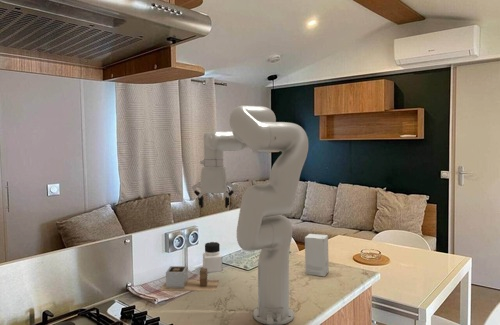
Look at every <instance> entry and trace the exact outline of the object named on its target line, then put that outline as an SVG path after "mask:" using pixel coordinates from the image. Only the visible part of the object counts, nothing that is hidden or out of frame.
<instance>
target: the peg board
mask: <svg viewBox="0 0 500 325" xmlns="http://www.w3.org/2000/svg"><path fill="white" fill-rule="evenodd" d="M173 272H181V268H174V269H173ZM219 281H220V280H215V279H212V280H211V279H208V272H207V268H203V267H202V268H200V269H199V279H198V280H197V279H195V280H194V279H188V283H187V284H186V286H185V288H184V289H166V281H165V282H164V284H163V285H162V287H161V288H160V290H159V292H160V291H161V292H162V291H167V292H168V291H171V292H174V291H175V292H177V291H179V292H181V291H182V292H184V291H185V292H215V291H217V287H218V285H219Z"/></svg>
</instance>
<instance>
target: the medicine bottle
mask: <svg viewBox="0 0 500 325" xmlns="http://www.w3.org/2000/svg"><path fill="white" fill-rule="evenodd" d="M220 246H221V245H220V243H219V242H217V241H208V242H206V243H204V252H203V253H202V268H207V273H213V272H215V273H216V272H222V271H223V255H222V254H221V252H220Z"/></svg>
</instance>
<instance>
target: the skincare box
mask: <svg viewBox="0 0 500 325" xmlns="http://www.w3.org/2000/svg"><path fill="white" fill-rule="evenodd" d="M304 254H305V257H304V260H305V262H304V263H305V264H304V265H305V275H310V276H317V277H318V276H319V277H326V276H327V274H328V273H329V272H330V271H329V269H330V267H329V236H328V235H327V234H319V233H318V234H317V233H308V234H307V235H306V236H305V237H304Z"/></svg>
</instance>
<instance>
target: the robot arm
mask: <svg viewBox="0 0 500 325" xmlns="http://www.w3.org/2000/svg"><path fill="white" fill-rule="evenodd" d="M228 123H229V126H230V129H231V130H215V131H207V132H205V133H204V134H203V160H200V162H199V163H200V165H203V166H202V167H201V170H200V171H201V172H200V182H197V183H195V184H194V185H192V186H191V189H192V191H193V193H194V194H195V195H196V196H197V198H198V206H200V209H202V208H204V196H203V195H204V194H224V196H225V198H224V203H225V204H224V208H225V209H227V208H228V206H230V197H231V196H232V195H233V194H234V192H235V190H236V188H237V185H235V184H233V183H231V182H230V181H228V177H227V171H226V170H227V169H226V167H225V166H224V152H238V151H242V150H246V149H247V148H249V149H250V150H252V151H254V152H259V153H261V152H262V153H264V152H267V153H268V152H270V153H271V152H281V154H280V155H279V156H278V157H277V159H276V160H275V161H274V163H273V165H272V167H271V169H270V173H269V174H270V176H269V179H268V182H266V183H262V184H261V183H260V184H253V185H251V186H249V187H247V189H246V190H245V191H244V193H243V194H242V198H241V202H240V209H239V213H238V219H237V220H238V221H237V227H236V241H237V243H238V246H239V247H240V248H241V250H243V251H245V252H254V251H260V252H259V255H258V258H257V259H258V261H257V296H258V297H257V298H258V299H257V306H256V308H254V309H253V312H252V314H253V315H252V316H253V318H254V320H256V321H257V322H258V323H261V324H264V325H285V324H288V323H290V322H291V321H293V320H294V319H295V318H294V317H295V312H294V310H293V309H292V308H290V300H289V299H290V293H289V292H290V290H289V289H290V286H289V285H290V249H291V242H292V238H293V225H292V222H291V221H290V219H289V218H288V217H286V215H287V214H289V213H290V212H291V211H292V209H293V208H294V205H295V204H294V203H295V201H296V200H295V199H296V196H297V191H298V187H299V183H300V177H301V173H302V170H303V168H304V165H305V162H306V159H307V156H308V152H309V137H308V135H307V132H306V131H305V129H304V128H303V127H302V126H300V125H299V124H297V123H294V122H289V121H288V122H287V121H286V122H285V121H277V118H276V115H275V113H274V111H273V110H272V109H271V108H268V107H266V106H262V105H239V106H236V107H235V108H233V109H232V111H231V113H230V114H229V122H228ZM198 187H200V188H199V189H200V191H199V190H198V189H197V188H198ZM228 187H229V188H231V190H230V191H229V192H228ZM285 214H286V215H285Z"/></svg>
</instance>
